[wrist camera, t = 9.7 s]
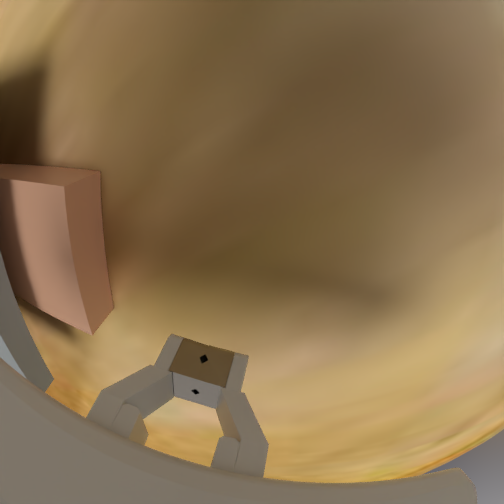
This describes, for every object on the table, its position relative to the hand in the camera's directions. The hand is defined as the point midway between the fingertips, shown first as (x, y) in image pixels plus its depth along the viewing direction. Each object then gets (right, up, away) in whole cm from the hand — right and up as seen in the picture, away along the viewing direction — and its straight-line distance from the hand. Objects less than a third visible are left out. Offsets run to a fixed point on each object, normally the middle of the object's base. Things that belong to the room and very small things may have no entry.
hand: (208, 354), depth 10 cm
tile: (-14, +6, +7) cm, 17 cm away
